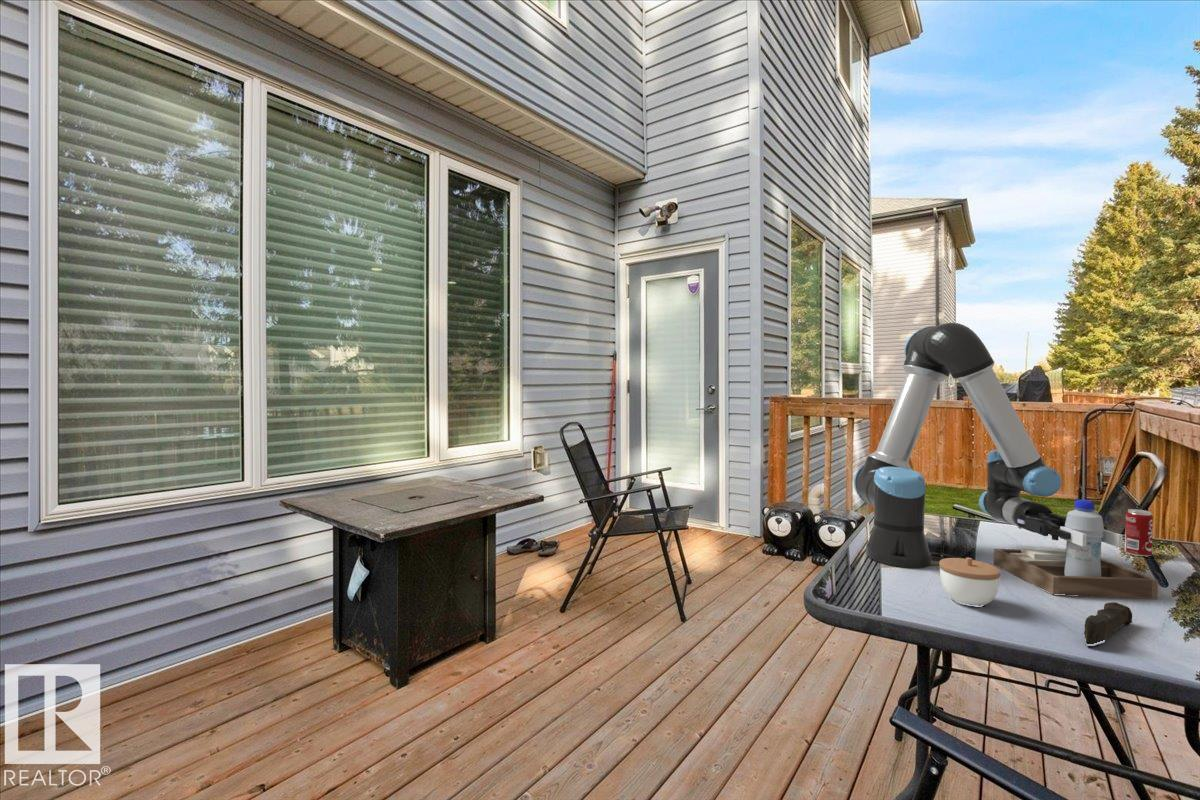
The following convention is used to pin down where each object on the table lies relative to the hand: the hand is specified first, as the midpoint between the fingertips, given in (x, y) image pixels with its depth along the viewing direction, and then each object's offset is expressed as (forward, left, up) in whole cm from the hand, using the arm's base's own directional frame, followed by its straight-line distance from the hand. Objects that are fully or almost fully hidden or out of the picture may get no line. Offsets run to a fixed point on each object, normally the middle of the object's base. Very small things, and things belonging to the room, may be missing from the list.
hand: (1102, 540), depth 118 cm
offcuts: (+6, +13, -11) cm, 18 cm away
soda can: (+43, +14, -12) cm, 47 cm away
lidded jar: (-31, +8, -12) cm, 34 cm away
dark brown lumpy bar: (-22, -12, -12) cm, 28 cm away
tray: (+4, +8, -12) cm, 15 cm away
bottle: (+2, +5, -12) cm, 13 cm away
